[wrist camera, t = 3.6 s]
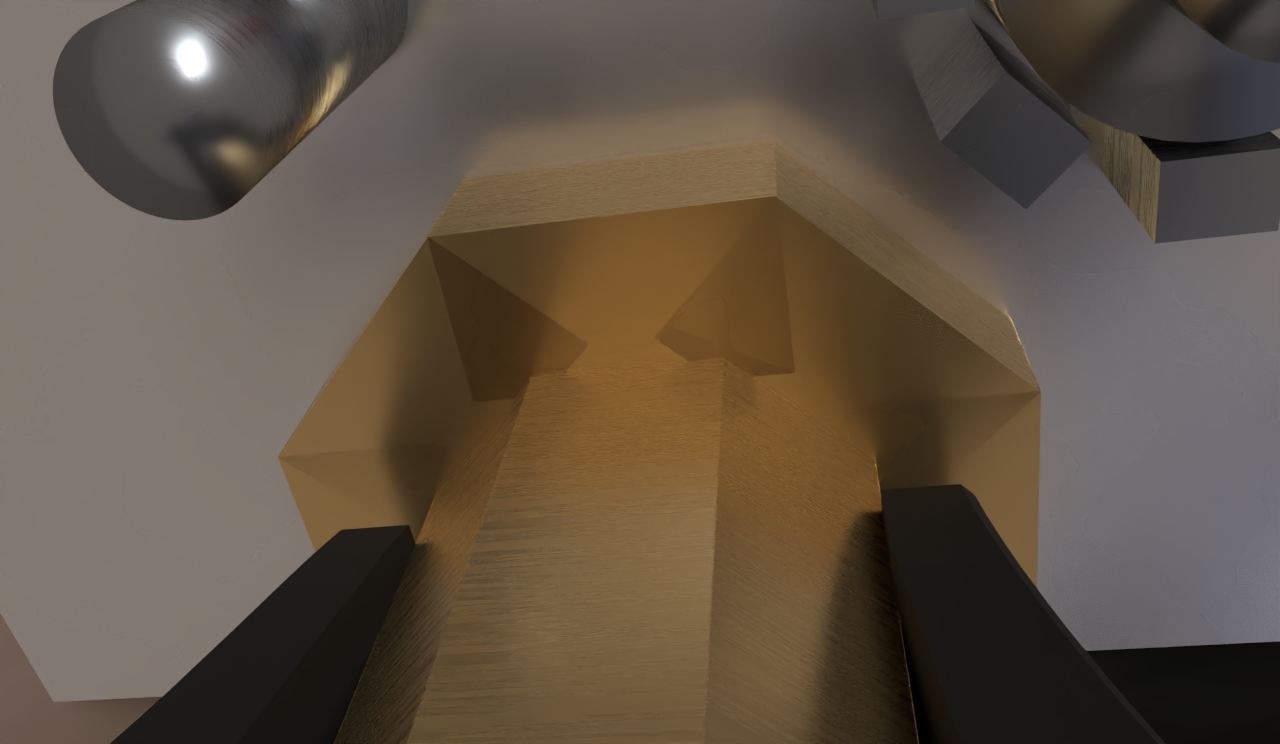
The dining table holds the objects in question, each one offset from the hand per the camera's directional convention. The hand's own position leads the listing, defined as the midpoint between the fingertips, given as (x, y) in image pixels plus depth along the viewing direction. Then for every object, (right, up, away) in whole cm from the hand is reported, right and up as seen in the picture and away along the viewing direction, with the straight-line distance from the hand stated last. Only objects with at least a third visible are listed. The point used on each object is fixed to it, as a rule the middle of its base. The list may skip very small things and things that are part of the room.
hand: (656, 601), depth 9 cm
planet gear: (0, +1, +2) cm, 2 cm away
